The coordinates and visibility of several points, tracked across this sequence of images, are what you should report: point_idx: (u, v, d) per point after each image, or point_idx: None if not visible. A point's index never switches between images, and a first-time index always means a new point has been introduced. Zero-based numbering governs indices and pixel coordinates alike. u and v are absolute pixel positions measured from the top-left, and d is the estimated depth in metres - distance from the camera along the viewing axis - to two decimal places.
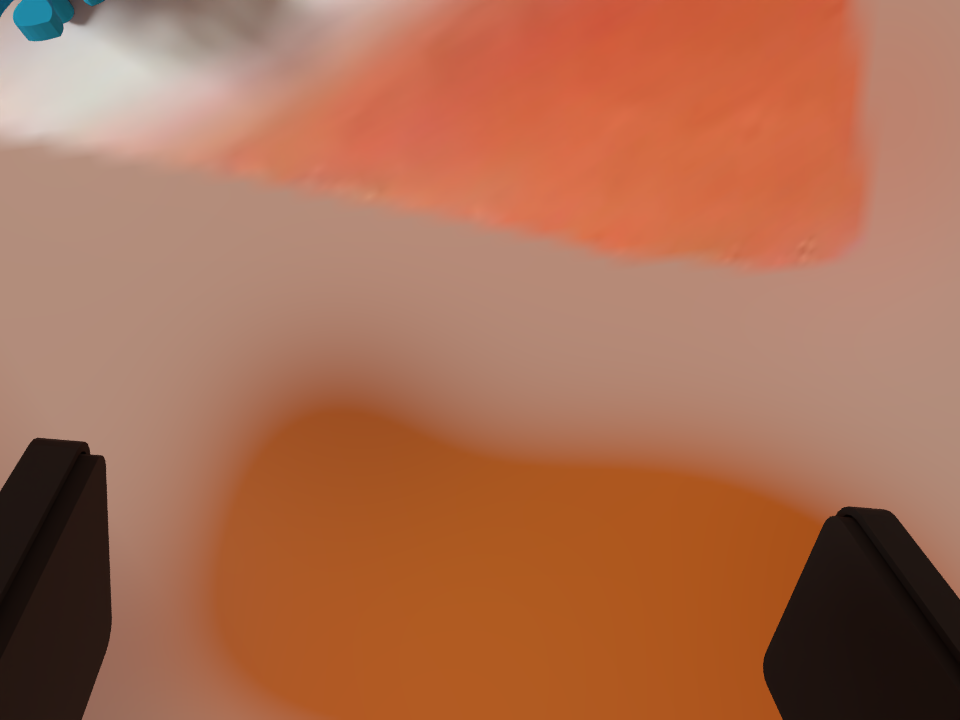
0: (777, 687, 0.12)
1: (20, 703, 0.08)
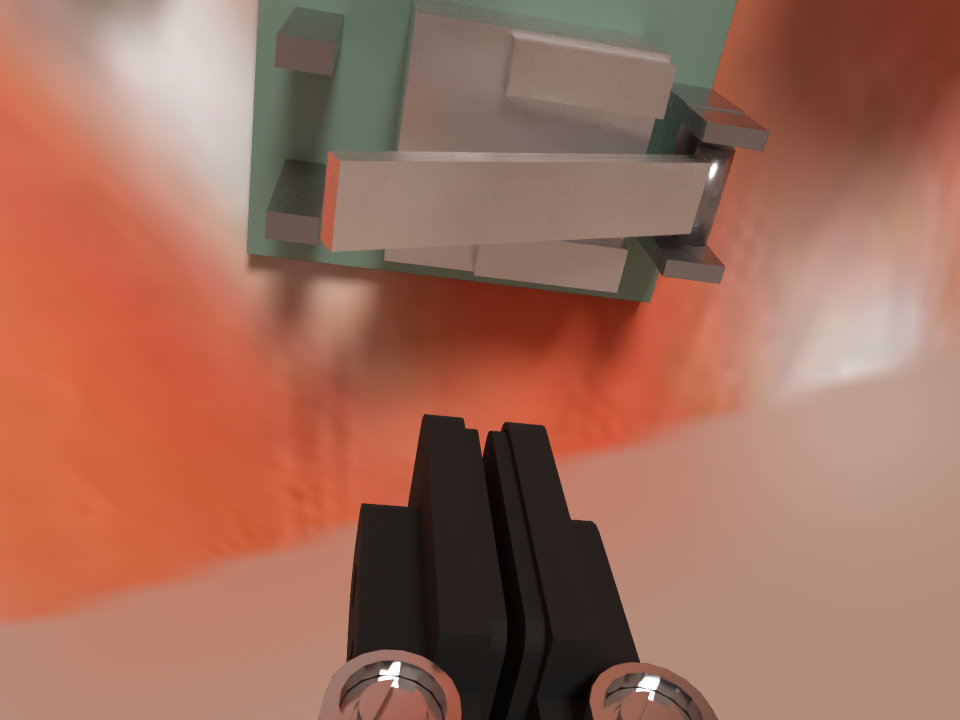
0: None
1: None
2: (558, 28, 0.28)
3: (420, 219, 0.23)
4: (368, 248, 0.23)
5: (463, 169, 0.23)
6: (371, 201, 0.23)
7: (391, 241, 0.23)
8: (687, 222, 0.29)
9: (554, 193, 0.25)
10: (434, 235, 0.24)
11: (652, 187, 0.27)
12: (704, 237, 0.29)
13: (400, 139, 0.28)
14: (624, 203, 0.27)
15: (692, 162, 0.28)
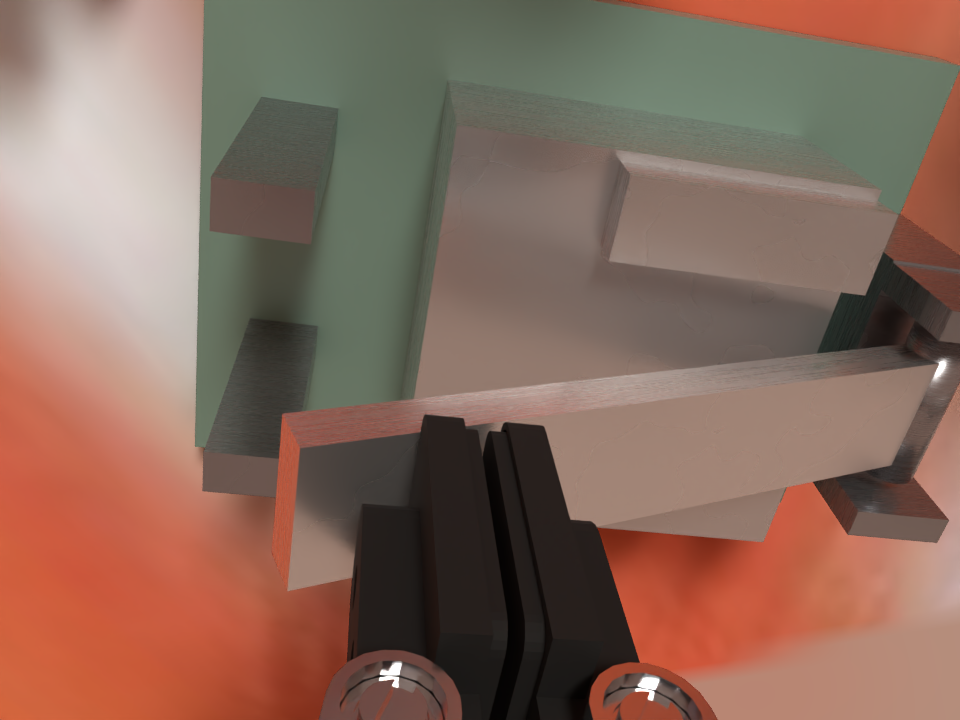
0: None
1: None
2: (685, 138, 0.17)
3: None
4: None
5: None
6: (363, 503, 0.12)
7: None
8: (889, 451, 0.18)
9: (691, 442, 0.15)
10: None
11: (846, 410, 0.16)
12: (913, 470, 0.18)
13: (427, 321, 0.17)
14: (799, 439, 0.16)
15: (910, 366, 0.17)
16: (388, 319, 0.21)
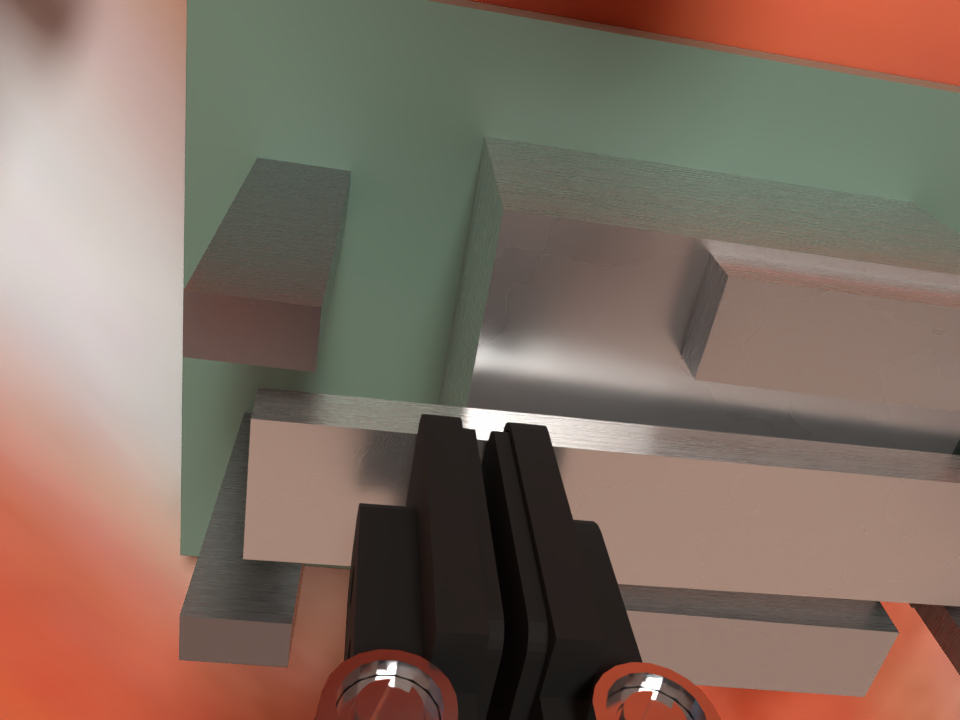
0: None
1: None
2: (781, 214, 0.14)
3: None
4: (316, 561, 0.13)
5: None
6: (318, 489, 0.12)
7: None
8: None
9: (711, 514, 0.13)
10: None
11: (940, 524, 0.14)
12: None
13: None
14: (869, 545, 0.14)
15: None
16: None
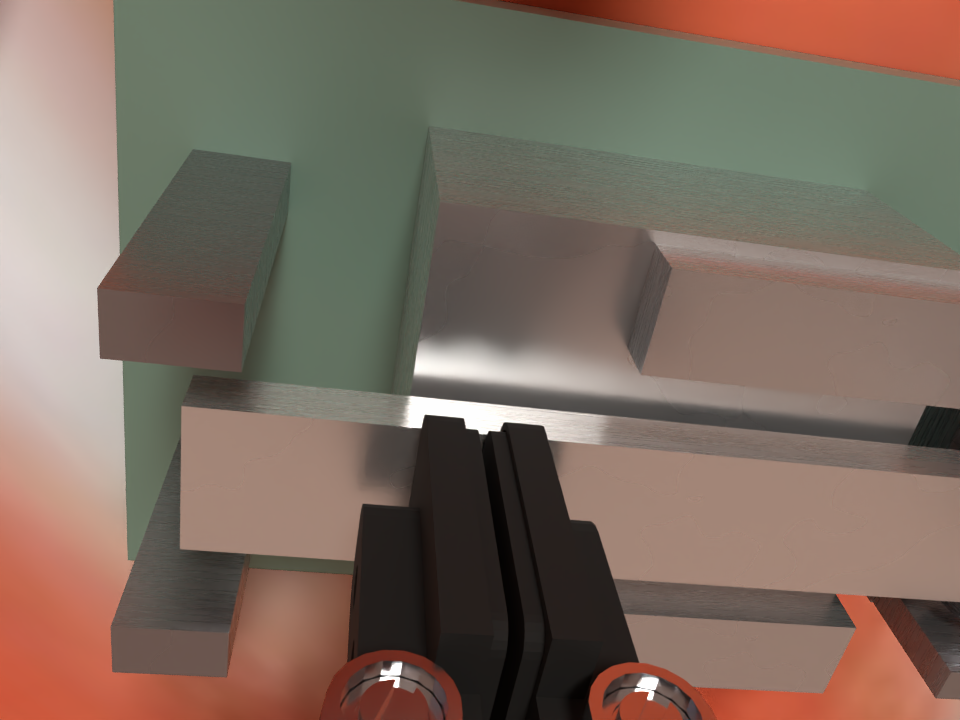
0: None
1: None
2: (731, 203, 0.14)
3: (359, 517, 0.12)
4: (254, 551, 0.13)
5: None
6: (253, 478, 0.12)
7: (301, 546, 0.13)
8: None
9: (657, 504, 0.13)
10: None
11: (891, 515, 0.13)
12: None
13: None
14: (819, 536, 0.13)
15: None
16: None
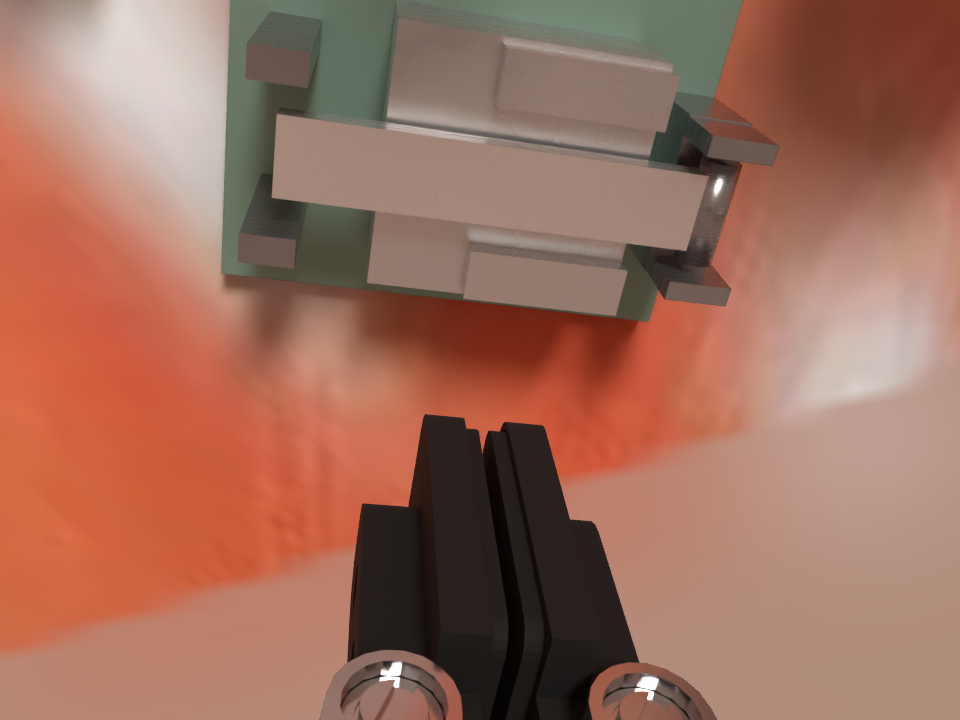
0: None
1: None
2: (552, 34, 0.26)
3: (360, 181, 0.25)
4: (308, 201, 0.25)
5: (404, 139, 0.25)
6: (309, 156, 0.25)
7: (331, 198, 0.25)
8: (680, 237, 0.27)
9: (509, 180, 0.26)
10: (376, 200, 0.26)
11: (632, 191, 0.26)
12: (702, 257, 0.27)
13: None
14: (596, 203, 0.26)
15: (683, 172, 0.26)
16: None
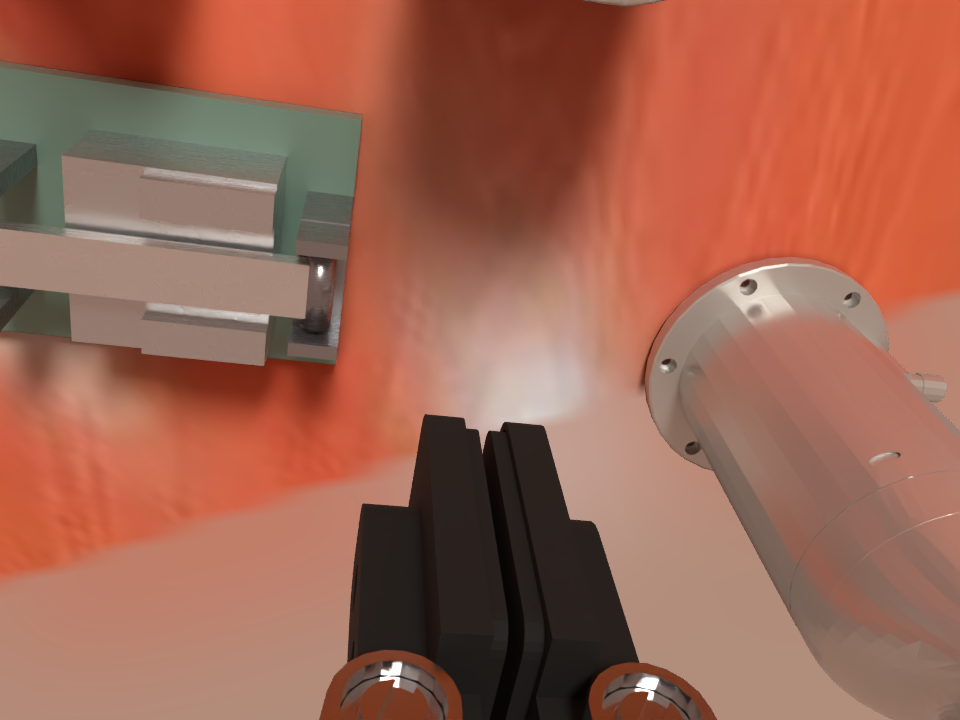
0: None
1: None
2: (197, 159, 0.36)
3: (42, 271, 0.34)
4: (6, 285, 0.35)
5: (70, 242, 0.34)
6: (1, 254, 0.34)
7: (23, 283, 0.35)
8: (298, 309, 0.36)
9: (156, 269, 0.35)
10: (57, 284, 0.35)
11: (252, 276, 0.35)
12: (316, 324, 0.36)
13: None
14: (226, 285, 0.35)
15: (289, 263, 0.35)
16: None
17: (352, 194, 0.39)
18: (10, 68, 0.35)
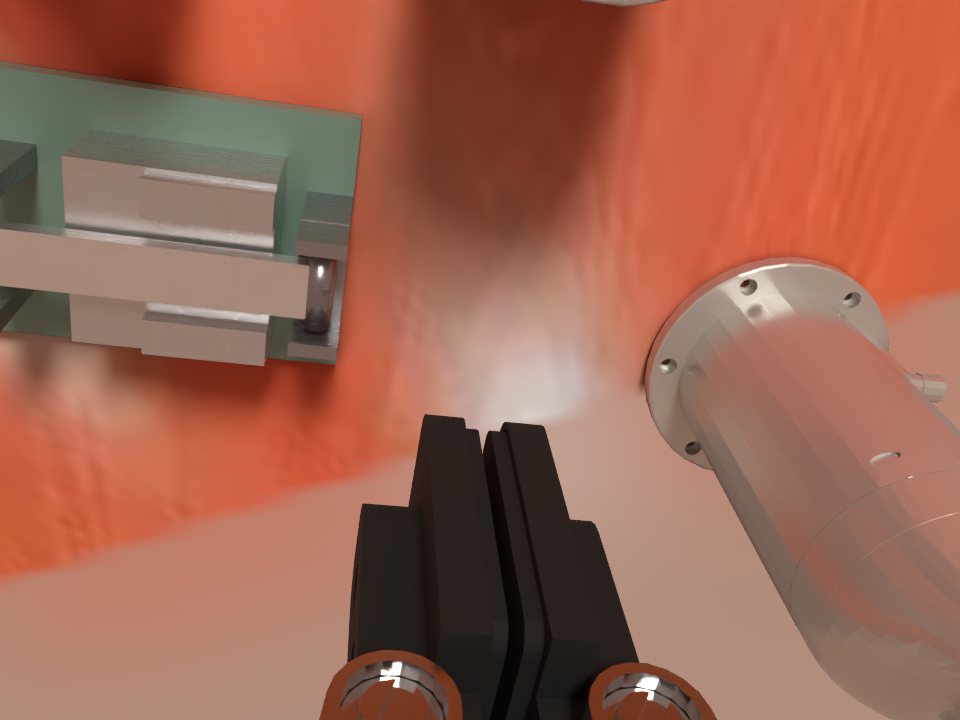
0: None
1: None
2: (197, 159, 0.36)
3: (43, 271, 0.34)
4: (6, 285, 0.35)
5: (70, 242, 0.34)
6: (1, 254, 0.34)
7: (23, 283, 0.35)
8: (298, 309, 0.36)
9: (157, 269, 0.35)
10: (57, 284, 0.35)
11: (252, 277, 0.35)
12: (316, 324, 0.36)
13: None
14: (226, 285, 0.35)
15: (289, 263, 0.35)
16: None
17: (352, 194, 0.39)
18: (10, 68, 0.35)
